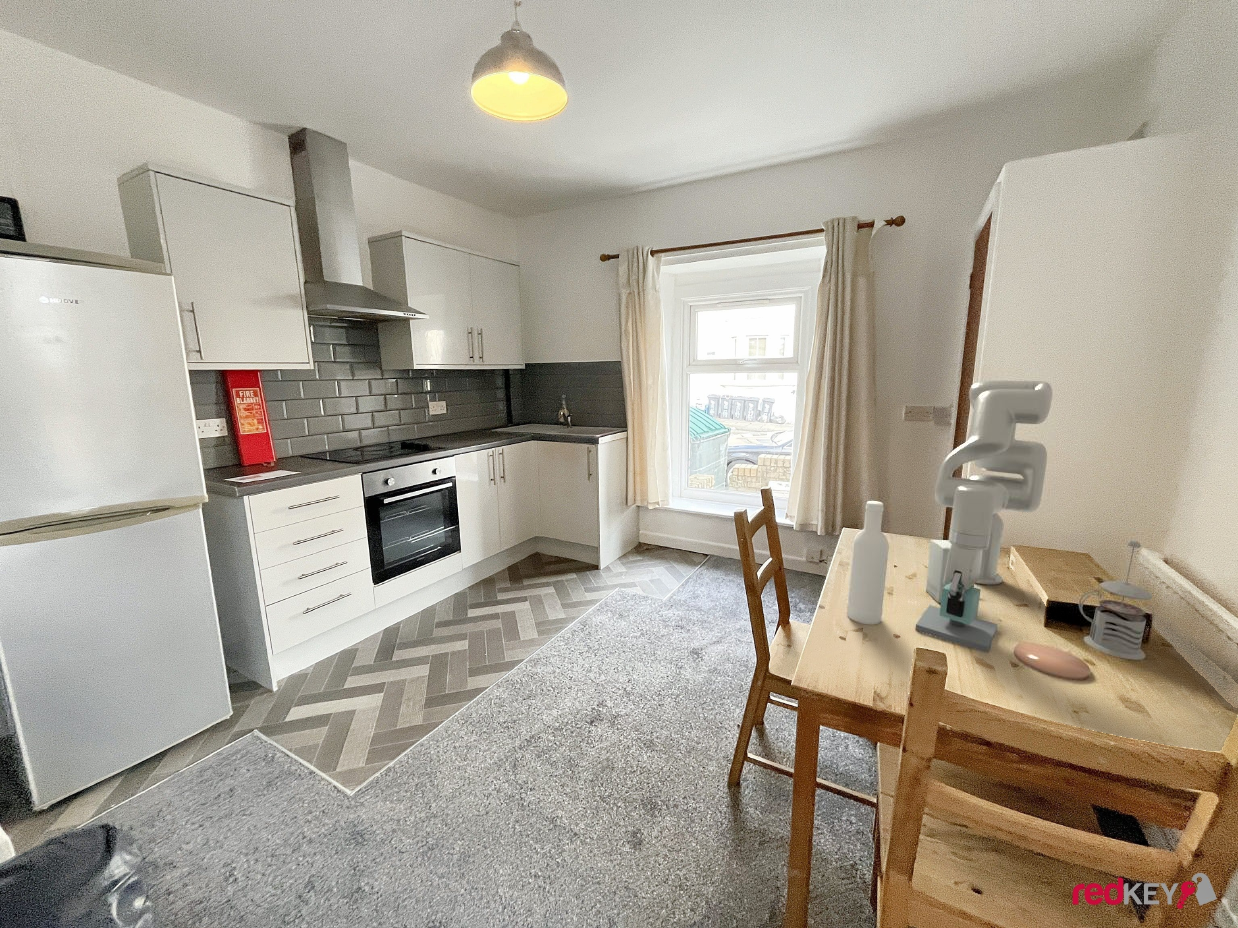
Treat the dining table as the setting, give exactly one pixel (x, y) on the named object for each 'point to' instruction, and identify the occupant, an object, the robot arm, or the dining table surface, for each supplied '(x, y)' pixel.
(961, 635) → the post board
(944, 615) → the block
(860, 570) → the bottle
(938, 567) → the skincare box
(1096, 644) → the french press
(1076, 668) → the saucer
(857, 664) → the dining table surface
